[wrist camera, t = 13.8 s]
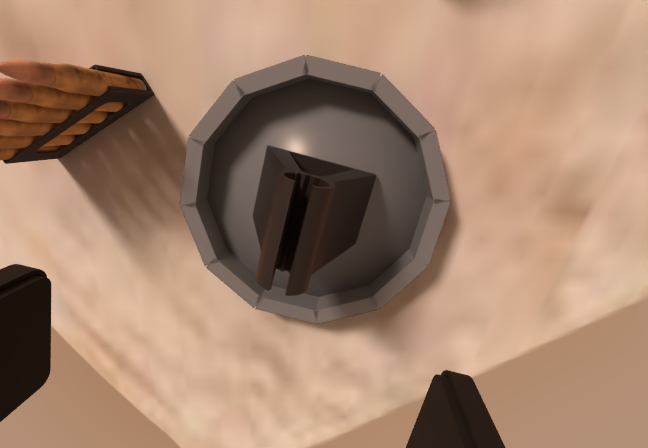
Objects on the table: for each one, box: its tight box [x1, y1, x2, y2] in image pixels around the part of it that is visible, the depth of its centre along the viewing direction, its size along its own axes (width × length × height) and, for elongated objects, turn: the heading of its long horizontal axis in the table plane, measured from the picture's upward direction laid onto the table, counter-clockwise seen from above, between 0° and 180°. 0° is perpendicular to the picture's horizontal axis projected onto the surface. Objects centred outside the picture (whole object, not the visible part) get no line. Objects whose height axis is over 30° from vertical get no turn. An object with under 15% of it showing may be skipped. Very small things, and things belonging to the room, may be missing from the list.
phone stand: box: [252, 145, 377, 296], centre depth 23 cm, size 9×6×12 cm, turn 75°
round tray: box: [180, 55, 451, 324], centre depth 28 cm, size 20×20×3 cm
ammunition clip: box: [0, 60, 154, 164], centre depth 24 cm, size 11×2×12 cm, turn 119°
